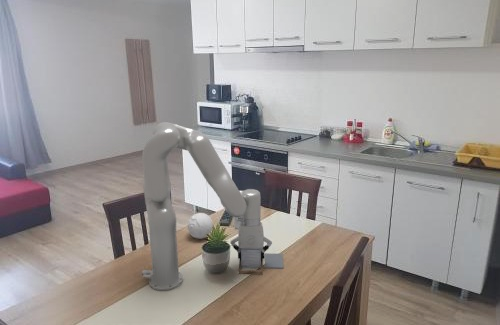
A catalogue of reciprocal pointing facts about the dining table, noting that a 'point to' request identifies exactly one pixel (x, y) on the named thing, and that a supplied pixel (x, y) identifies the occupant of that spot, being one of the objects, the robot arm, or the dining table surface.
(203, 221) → the decorative ball
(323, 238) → the dining table surface
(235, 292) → the dining table surface
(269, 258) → the rubber mat
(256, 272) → the wooden frame
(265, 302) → the dining table surface
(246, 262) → the medicine box
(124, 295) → the dining table surface
